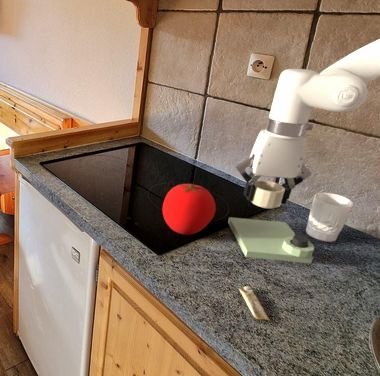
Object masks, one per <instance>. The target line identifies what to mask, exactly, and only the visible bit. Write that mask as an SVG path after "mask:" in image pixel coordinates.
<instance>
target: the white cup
mask: <svg viewBox="0 0 380 376" xmlns="http://www.w3.org/2000/svg"><path fill="white" fill-rule="evenodd" d="M353 206H354V202H353V201H352V200H351V199H349V198H347V197H345V196H343V195H340V194H336V193H331V192H317V193H315V194H314V197H313V200H312V203H311V207H310V210H309V215H308V219H307V225H306V228H305V232H306V234H307V235H309V237H311V238H314V239H316V240H318V241H322V242H327V243H328V242H329V243H332V242H336V241H337V239H338V238H339V235H340V233H341V232H342V230H343V228H344V226H345V224H346V222H347V220H348V217H349V215H350V213H351V210H352V208H353Z"/></svg>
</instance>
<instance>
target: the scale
mask: <svg viewBox="0 0 380 376" xmlns="http://www.w3.org/2000/svg"><path fill="white" fill-rule="evenodd" d="M227 224H228V226H229V227H230V230H231V231H232V234H233V236H234V237H235V239H236V241H237V243H238V245H239V247H240V249H241V251H242V253H243V254H244V256H245V258H249V259H250V258H251V259H252V258H253V259H262V260H271V261H282V262H291V263H303V264H312V262H313V259H314V257H313V253H314V250H315V246H314V244H313V243H312V242H311V241H308V244H307V247H306V248H300V247H297V246H294V245H293V244H291V242H292V239H293V236H294V235H296V234H295V232H294V230H293V229H292V228H291V227H290V226H289V224H288V223H287V222H286V221H277V220H264V219H252V218H241V217H232V216H231V217H228V221H227Z"/></svg>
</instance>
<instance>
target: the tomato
mask: <svg viewBox="0 0 380 376" xmlns="http://www.w3.org/2000/svg"><path fill="white" fill-rule="evenodd" d="M216 209H217V207H216V202H215V199H214V197H213V195H212V194H211V192H210V191H209V190H208V189H206V188H205V187H203V186H201V185H198V184H193V183H191V182H190V183H182V184H177V185H176V186H174V187H172V188H171V189H170V190H169V191H168V192H167V193H166V195H165V197H164V200H163V203H162V215H163V216H162V217H163V219H164V221H165V224H166V225H167V226H168V227H169V228H170V229H171V230H172V231H173V232H176V233H177V234H178V235H179V234H180V235H183V236H191V235H195V234H197V233H199V232H200V231H202V230H204V229H205V228H206V227H207V226H208V225H209V224H210V222H211V221H212V220H213V218H214V217H215V213H216V211H217V210H216Z"/></svg>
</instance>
